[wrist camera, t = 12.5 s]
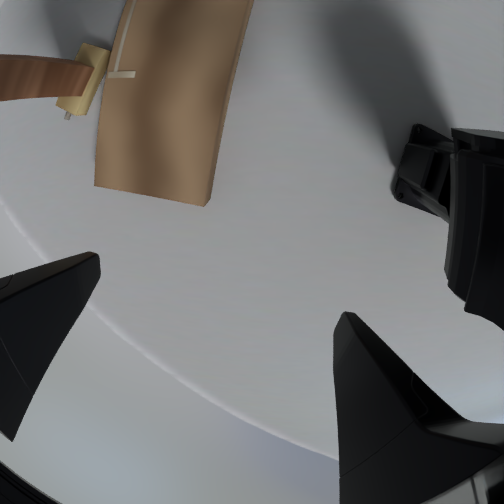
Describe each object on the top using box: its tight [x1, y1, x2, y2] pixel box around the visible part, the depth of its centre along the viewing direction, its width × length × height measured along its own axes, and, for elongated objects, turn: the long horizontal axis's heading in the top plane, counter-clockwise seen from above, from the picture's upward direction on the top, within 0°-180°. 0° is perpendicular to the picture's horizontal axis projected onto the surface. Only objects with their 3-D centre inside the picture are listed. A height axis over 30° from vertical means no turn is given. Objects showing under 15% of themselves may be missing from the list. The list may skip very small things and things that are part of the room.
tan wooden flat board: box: [94, 0, 254, 207], centre depth 15 cm, size 10×22×2 cm, turn 168°
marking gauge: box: [0, 43, 112, 120], centre depth 12 cm, size 3×7×12 cm, turn 148°
